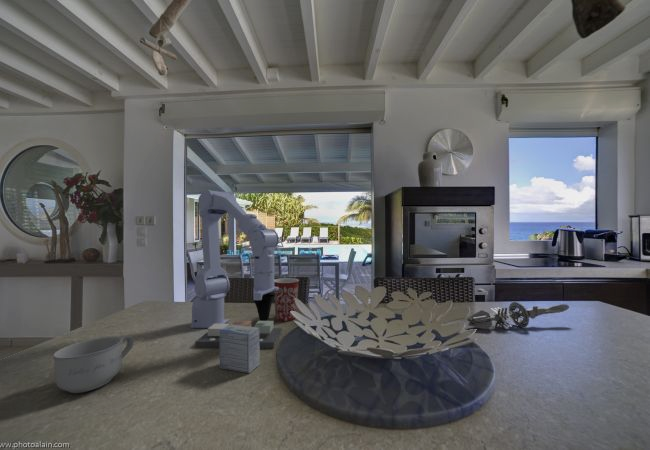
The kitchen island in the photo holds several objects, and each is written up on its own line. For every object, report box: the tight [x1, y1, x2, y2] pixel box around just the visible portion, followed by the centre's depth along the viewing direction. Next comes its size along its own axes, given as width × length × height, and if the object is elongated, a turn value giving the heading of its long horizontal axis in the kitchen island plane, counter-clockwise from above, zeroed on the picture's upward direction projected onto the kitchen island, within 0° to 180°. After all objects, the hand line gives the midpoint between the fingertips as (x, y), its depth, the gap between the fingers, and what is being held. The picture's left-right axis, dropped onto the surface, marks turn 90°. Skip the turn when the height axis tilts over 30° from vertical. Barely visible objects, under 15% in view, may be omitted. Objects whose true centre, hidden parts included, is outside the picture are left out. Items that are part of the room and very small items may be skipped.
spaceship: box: [467, 301, 570, 330], centre depth 91 cm, size 8×35×8 cm
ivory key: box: [207, 323, 230, 336], centre depth 81 cm, size 4×4×2 cm
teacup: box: [52, 334, 135, 394], centre depth 59 cm, size 14×11×8 cm
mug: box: [273, 277, 300, 322], centre depth 103 cm, size 13×9×14 cm
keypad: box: [194, 327, 283, 349], centre depth 81 cm, size 21×11×2 cm, turn 88°
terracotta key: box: [231, 320, 252, 327], centre depth 81 cm, size 4×4×2 cm
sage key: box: [253, 320, 275, 333], centre depth 81 cm, size 4×4×2 cm
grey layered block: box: [219, 324, 261, 374], centre depth 65 cm, size 8×4×9 cm, turn 71°
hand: (264, 320), depth 81 cm, fingers closed
